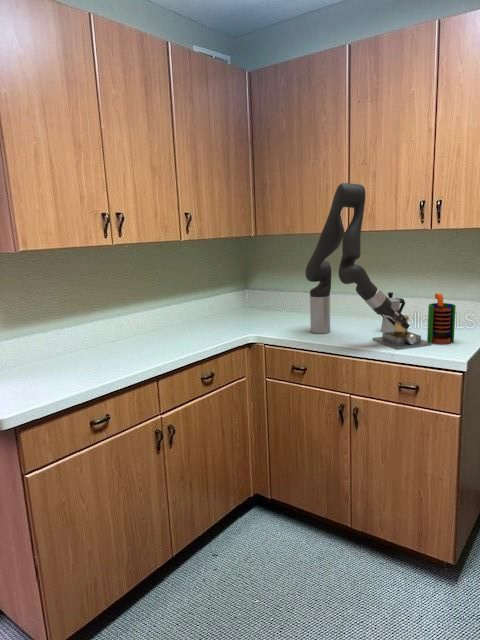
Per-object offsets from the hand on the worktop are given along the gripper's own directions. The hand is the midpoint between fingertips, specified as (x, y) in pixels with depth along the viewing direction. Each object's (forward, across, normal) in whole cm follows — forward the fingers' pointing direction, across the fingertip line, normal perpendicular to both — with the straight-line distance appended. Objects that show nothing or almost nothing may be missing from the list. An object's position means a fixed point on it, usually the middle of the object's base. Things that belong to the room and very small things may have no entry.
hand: (401, 325), depth 202 cm
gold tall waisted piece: (+4, 0, +5) cm, 6 cm away
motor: (+15, -6, -4) cm, 17 cm away
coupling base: (+5, 0, +5) cm, 7 cm away
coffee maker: (+12, +21, -1) cm, 24 cm away
